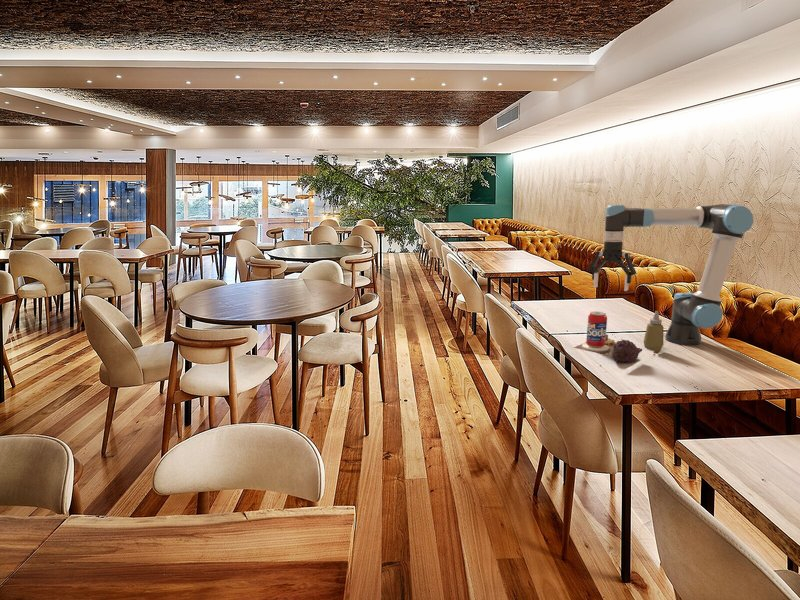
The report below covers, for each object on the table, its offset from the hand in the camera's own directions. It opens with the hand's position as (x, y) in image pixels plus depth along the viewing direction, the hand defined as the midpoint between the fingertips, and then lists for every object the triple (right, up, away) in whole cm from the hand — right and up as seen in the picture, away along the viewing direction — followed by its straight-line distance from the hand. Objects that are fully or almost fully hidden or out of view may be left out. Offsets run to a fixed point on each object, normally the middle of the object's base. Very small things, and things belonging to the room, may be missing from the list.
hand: (610, 288), depth 237 cm
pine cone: (-2, -31, -18) cm, 36 cm away
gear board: (-4, -27, +2) cm, 27 cm away
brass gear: (0, -25, +6) cm, 25 cm away
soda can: (-7, -25, -1) cm, 26 cm away
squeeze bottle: (+19, -28, 0) cm, 33 cm away
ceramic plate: (-7, -26, -1) cm, 27 cm away
